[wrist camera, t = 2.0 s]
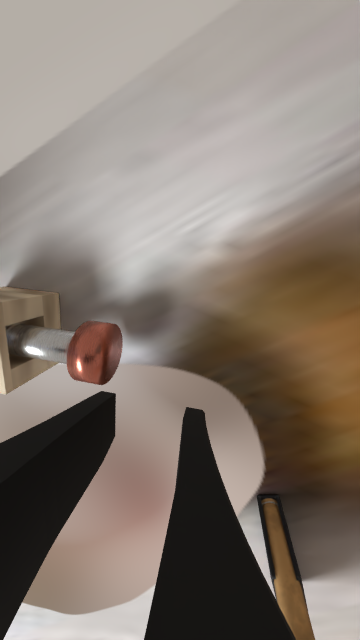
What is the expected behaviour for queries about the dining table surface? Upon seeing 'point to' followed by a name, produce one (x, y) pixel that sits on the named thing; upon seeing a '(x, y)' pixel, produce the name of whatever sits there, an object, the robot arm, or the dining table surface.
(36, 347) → the shaft
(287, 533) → the ammunition clip
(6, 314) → the bearing block
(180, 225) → the dining table surface
